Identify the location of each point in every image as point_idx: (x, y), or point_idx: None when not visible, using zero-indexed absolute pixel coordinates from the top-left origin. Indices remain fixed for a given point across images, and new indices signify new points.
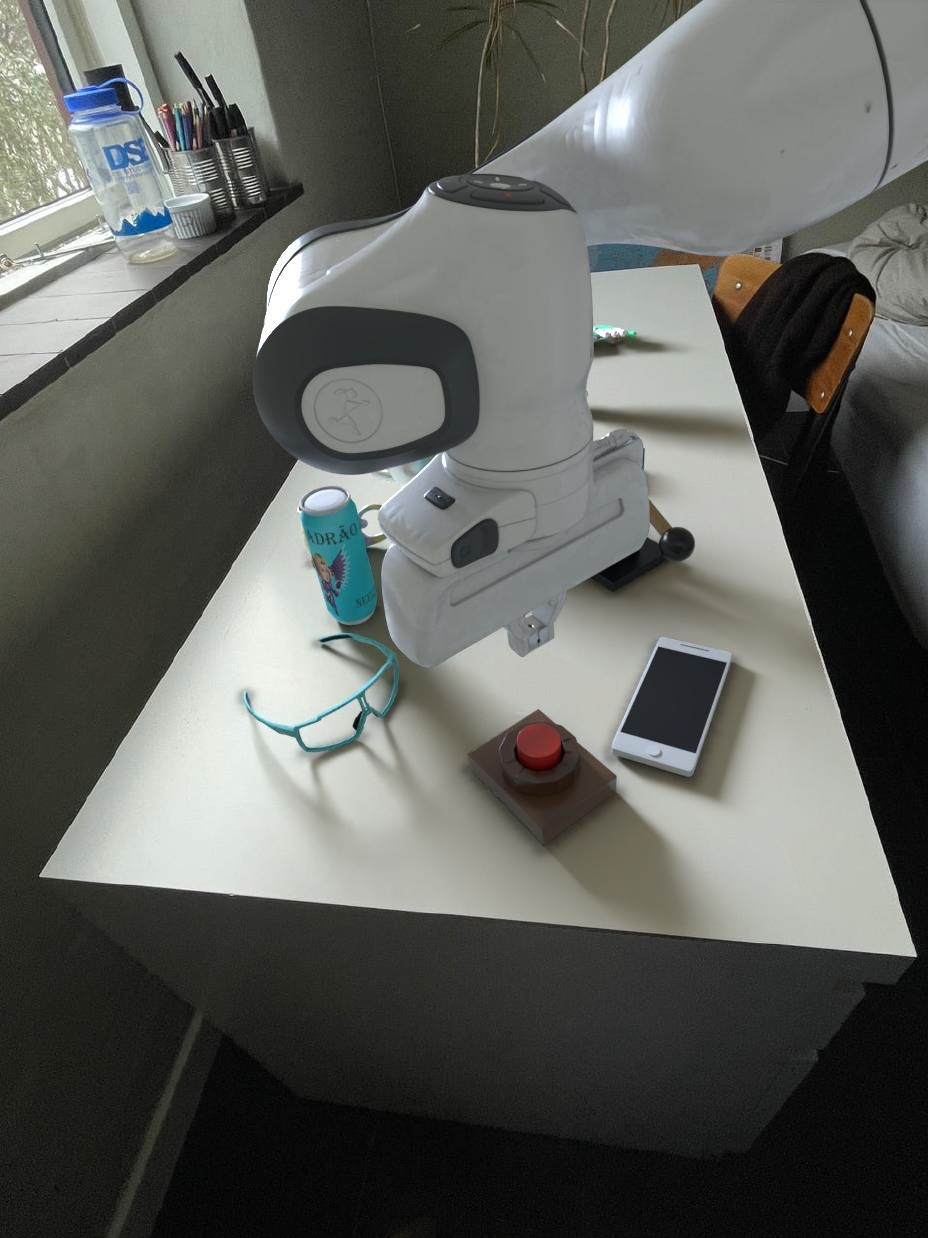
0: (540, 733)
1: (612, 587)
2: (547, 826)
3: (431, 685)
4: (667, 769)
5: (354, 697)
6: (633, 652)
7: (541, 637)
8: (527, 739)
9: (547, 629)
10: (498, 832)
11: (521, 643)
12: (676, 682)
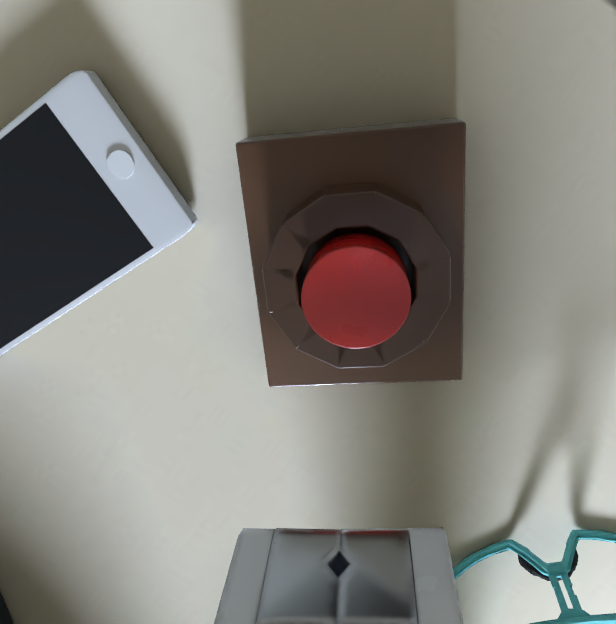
0: (339, 313)
1: None
2: (450, 123)
3: None
4: (122, 114)
5: (597, 619)
6: (16, 393)
7: (319, 576)
8: (375, 317)
9: (268, 603)
10: (507, 202)
11: (460, 612)
12: None
